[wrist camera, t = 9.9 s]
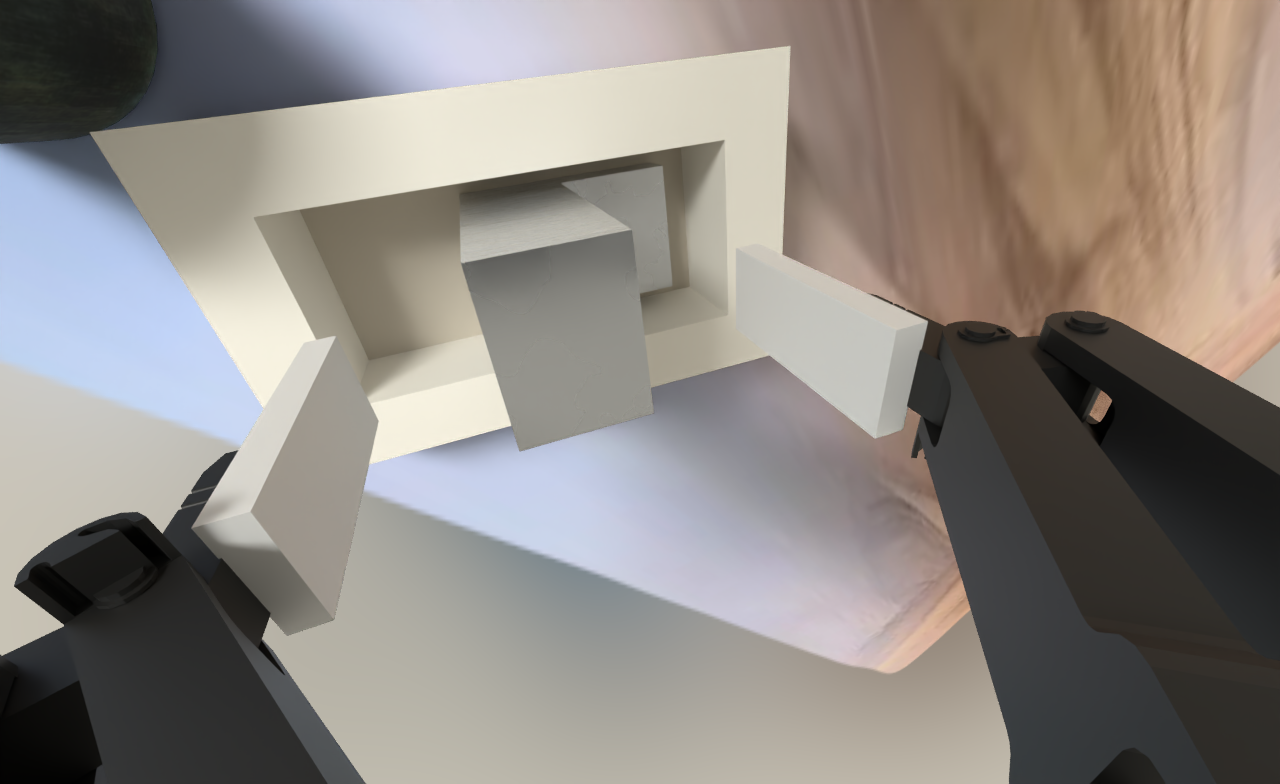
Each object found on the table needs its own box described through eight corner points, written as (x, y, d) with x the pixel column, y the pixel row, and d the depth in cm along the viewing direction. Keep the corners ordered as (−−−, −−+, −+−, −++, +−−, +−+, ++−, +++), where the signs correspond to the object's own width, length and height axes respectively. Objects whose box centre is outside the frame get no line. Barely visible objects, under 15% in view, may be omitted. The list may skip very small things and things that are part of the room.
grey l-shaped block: (459, 194, 23) (460, 263, 12) (648, 162, 25) (795, 197, 14) (493, 312, 26) (519, 451, 15) (659, 276, 28) (786, 375, 17)
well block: (180, 128, 19) (89, 132, 15) (725, 59, 24) (790, 46, 20) (335, 415, 27) (308, 480, 22) (729, 317, 32) (778, 352, 27)
